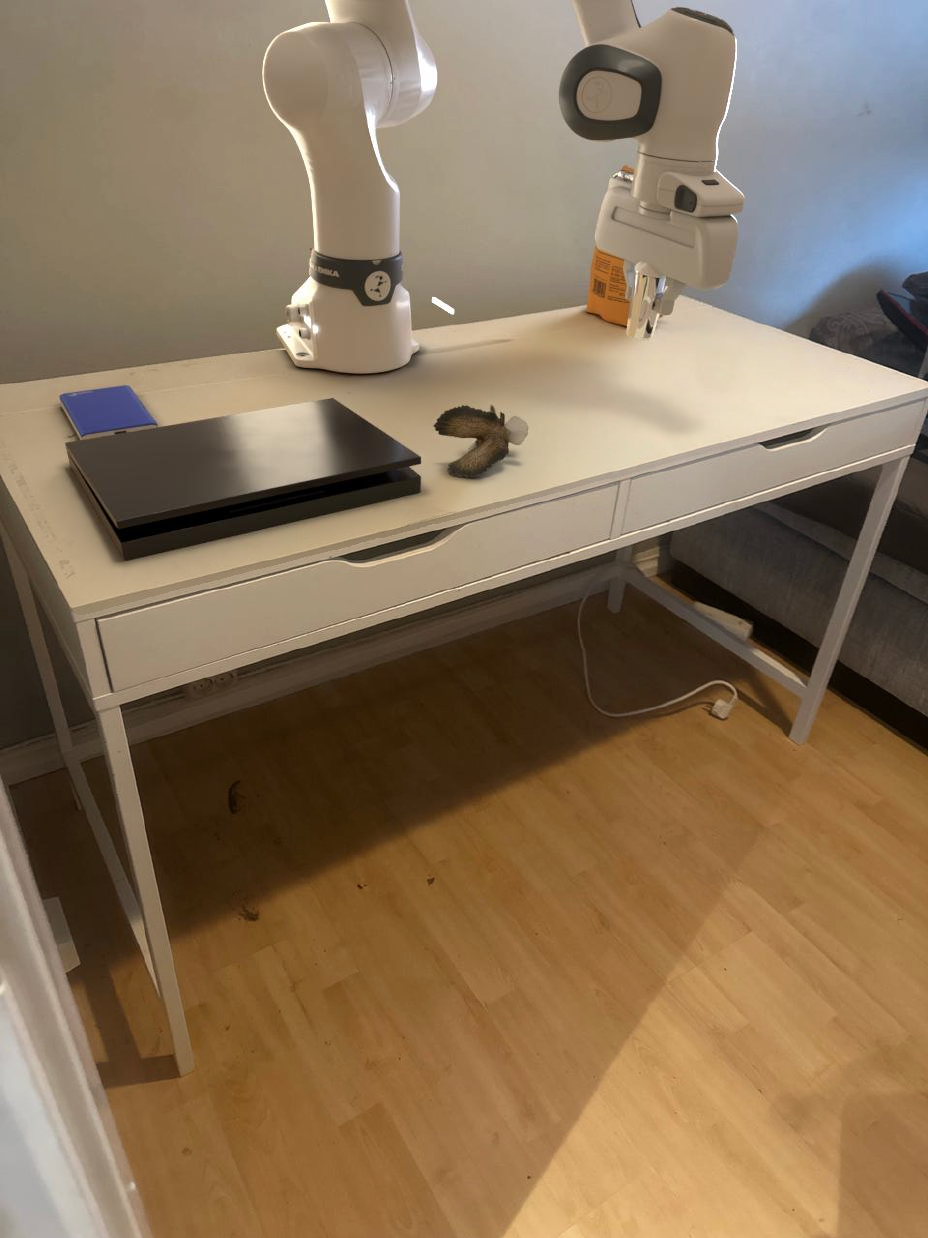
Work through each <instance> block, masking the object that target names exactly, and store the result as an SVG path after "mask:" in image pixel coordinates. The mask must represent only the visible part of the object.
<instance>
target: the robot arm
mask: <svg viewBox="0 0 928 1238" xmlns="http://www.w3.org/2000/svg"><path fill="white" fill-rule="evenodd" d="M324 1H325V5H326V8H327V12H328V16H329V19H330V22H329V21H328V22H327V21H312V22H308V23H305V24H302V25H298V26H296V27H293V28H291V29H289V30H285V31H283V32H280V34H278V35H277V36H275V37H274V38H273V40H272V41H271V42H270V43H269V45H268V46H267V49H266V51H265V54H264V56H263V57H264V58H263V64H262V83H263V91H264V94H265V96H266V100H267V102H268V105H269V107H270V108H271V111H272V112H273V114H274V115H275V116H276V118H277V119H278V120H279V121H280V122H281V123H282V124H283V125H284V126H285V127H286V128H287V130H289V132H290V134H291V135H292V136H293V138H294V140H295V142H296V145H297V147H298V149H299V152H300V153H301V154H300V155H301V157H302V160H303V162H304V166H305V169H306V172H307V176H308V182H309V186H310V194H311V207H312V219H313V220H312V221H313V222H312V223H313V238H314V239H313V240H314V241H313V242H314V247H310V248H309V251H311V254H310V255H309V257H310V258H309V270H308V275H309V278H308V279H307V280H306V281H305V282H304V283H303V284H302V285H301V286H300V287H299V288H298V290H297V291H295V293H294V294H293V295H292V297H291V304H288V305H286V306H285V317H286V320H287V323H286V324H282V325H281V326H278V327H277V328H276V336H277V338H278V340H279V342H280V343H281V344H282V346H283V347H284V350H285V351H286V352H287V354H288V356H289V357H290V359H291V360H292V362H293V363H294V366H296V367H298V368H306V369H321V370H326V371H331V372H335V373H343V374H344V373H345V374H377V373H384V372H390V371H393V370H396V369H399V368H402V367H404V366H405V365H407V364H408V363H409V362H410V361H411V357H412V355H413V354H415V353H417V352H418V351H419V350H420V343H419V341H418V340H415V339H413V331H412V330H413V329H412V314H411V311H412V310H411V298H410V297H411V296H410V293H409V291H408V290H407V289H406V288H405V287H403V285H402V282H403V280H404V268H405V266H404V265H405V264H404V261H403V260H404V259H403V252H402V251H401V249H400V244H401V243H400V242H401V241H400V239H401V238H400V237H401V236H400V235H401V234H400V232H401V231H400V230H401V225H400V224H401V192H400V191H401V190H400V188H399V185H398V183H397V180H396V179H395V178H394V177H393V176H392V175H391V174H390V173H389V172H388V171H387V170H386V168H385V165H384V163H383V160H382V157H381V154H380V149H379V146H378V140H377V129H386V128H391V127H397V126H400V125H403V124H404V123H406V122H409V121H411V120H412V119H414V118H415V117H417V116H418V115H420V114H421V113H423V112H424V111H425V110H426V109H427V108H428V107H429V106H430V104H431V102H432V101H433V98H434V96H435V93H436V88H437V84H438V83H437V82H438V72H437V64H436V61H435V57H434V54H433V51H432V49H431V48H430V46H429V45H428V43H427V42H426V40H425V39H424V38H423V37H422V35H421V33H420V32H419V29H418V27H417V25H416V22H415V18H414V15H413V13H412V10H411V5H410V1H409V0H324ZM570 1H571V3H572V7H573V11H574V13H575V17H576V20H577V24H578V26H579V30H580V33H581V36H582V40H583V44H584V48H583V49H581V50H579V51H578V52H577V53H576V54H575V55H574V56H572V58H571V59H570V60H569V61H568V63H567V64H566V66H565V68H564V71H563V72H562V74H561V78H560V81H559V87H558V104H559V110H560V113H561V116H562V118H563V119H564V122H565V124H566V125H567V126H568V128H569V129H570V130H571V131H572V132H573V133H574V134H575V135H577V136H579V137H581V138H583V139H585V140H588V141H590V142H595V143H609V142H613V141H616V140H625V139H634V140H636V141H637V143H638V144H637V151H636V155H635V162H634V168H633V170H634V173H631V172H630V171H628V170H621V169H619V170H618V172H615V173H614V174H613V176H611V177H610V178H609V181H608V184H607V191H606V193H605V194H604V196H603V199H602V203H601V206H600V210H599V213H598V217H597V222H596V227H595V232H594V242H595V246H597V248H598V249H599V250H601V251H604V252H607V253H609V254H612V255H614V256H617V257H619V258H622V259H624V265H623V271H624V276H625V280H626V285H627V288H626V294H625V298H626V299H627V300H629V301H631V295H632V288H633V279H634V270H635V265H636V264H637V263H639V262H643V263H648V264H649V265H650V266H651V267H652V268H653V269H654V271H655V272H657V273H659V274H662V275H664V276H666V280H665V286H668V288H667V289H666V291H665V292H664V294H663V296H662V297H656V299H655V306H654V311H655V312H656V313H658V314H661V315H663V316H662V317H664V316H670V315H671V314H672V313H673V311H674V306H675V301H676V300H677V299H678V297H680V295H681V294H682V292H683V291H684V290H685V288H686V286H689V287H692V288H695V289H697V290H700V291H709V290H717V289H721V288H722V287H723V286H724V285H725V284H726V283H727V281H728V280H729V278H730V276H731V272H732V268H733V264H734V260H735V256H736V250H737V244H738V238H739V225H738V221H737V219H736V217H735V216H736V215H740V214H741V213H742V211H743V209H744V206H745V199H746V198H745V195H744V193H743V192H742V191H741V190H739V188H737V187H736V186H734V185H733V183H731V182H730V181H729V180H728V179H727V178H726V177H724V175H723V174H722V173H721V172H720V171H719V170H718V169H716V166H717V161H718V156H719V148H718V147H719V146H718V143H719V134H720V131H721V127H722V125H723V123H724V121H725V119H726V116H727V113H728V110H729V106H730V100H731V95H732V90H733V85H734V77H735V72H736V71H735V70H736V63H737V52H738V51H737V50H738V46H737V45H738V43H737V37H736V34H735V32H734V30H733V28H732V27H731V25H730V24H728V23H727V21H726V20H724V19H722V18H719V17H717V16H714V15H711V14H709V13H706V12H702V11H700V10H696V9H691V8H688V7H684V6H676V7H671V8H669V9H668V10H666V11H665V13H663V14H662V15H660V16H659V17H658V18H656V19H654V20H653V21H651V22H649V23H647V24H644V25H643V26H642V24H641V23H640V20H639V18H638V16H637V13H636V9H635V6H634V2H633V0H570ZM431 303H433V304H435V305H437V306H438V307H440V308H442V309H443V310H444V311H446V312H448V313H449V314H451V315H454V314H455V309H454V308H452V307H451V306H449V304H446V303H444V302H443V301H442V300H440V299H438V298H437V297H435V296H434V297H433V296H432V299H431Z"/></svg>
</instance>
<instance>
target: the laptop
mask: <svg viewBox="0 0 928 1238" xmlns="http://www.w3.org/2000/svg"><path fill="white" fill-rule="evenodd" d="M66 453H67V454H66V455H67V457H68V463H69V467H70V469H71V471H72V472H73V474H74V476H75V478H76V479H77V481H78V483H79V484H80V487H81V488H82V490H83V492H84V493H85V495H86V497H87V498H88V500H89V502H90V503H91V505H92V507H93V509H94V511H95V512H96V514H97V516H98V517H99V519H100V521H101V523H102V525H103V526H104V528H105V530H106V531H107V534H108V535H109V537H110V538H111V540H112V542H113V544H114V546H115V547H116V549H117V551H118V552H119V554H120V556H121V558H122V559H123V561H129V560H130V561H131V560H133V559H139V558H142V557H146V556H151V555H155V554H159V553H164V552H167V551H172V550H177V549H181V548H185V547H189V546H194V545H199V544H203V543H207V542H212V541H215V540H220V539H225V538H228V537H233V536H238V535H241V534H246V533H249V532H253V531H259V530H262V529H268V528H272V527H276V526H280V525H284V524H288V523H293V522H297V521H302V520H305V519H310V518H314V517H319V516H324V515H328V514H332V513H336V512H340V511H345V510H349V509H353V508H357V507H358V508H359V507H362V506H366V505H370V504H375V503H379V502H383V501H389V500H392V499H396V498H401V497H405V496H409V495H410V496H411V495H414V494H417V493H421V489H422V475H420V474H418V473H417V472H416V471H415V470H414V469H412V468H411V466H409V467H405V468H400V469H396V470H391V471H386V472H382V473H377V474H372V475H368V476H363V477H358V478H354V479H349V480H344V481H340V482H335V483H331V484H326V485H321V486H317V487H312V488H307V489H303V490H298V491H293V492H289V493H284V494H279V495H275V496H270V497H266V498H261V499H256V500H252V501H247V502H242V503H238V504H233V505H228V506H224V507H219V508H215V509H210V510H205V511H201V512H196V513H191V514H187V515H182V516H177V517H173V518H168V519H163V520H159V521H154V522H150V523H145V524H140V525H136V526H131V527H126V528H122V529H118V528H117V527H116V525H115V524H114V522H113V521H112V519H111V517H110V516H109V514H108V513H107V511H106V510H105V508H104V507H103V505H102V504H101V502H100V501H99V499H98V497H97V496H96V494H95V493H94V491H93V490H92V488H91V487H90V485H89V484H88V482H87V481H86V479H85V477H84V476H83V474H82V473H81V471H80V470H79V468H78V467H77V465H76V464H75V462H74V460H73V459H72V457H71V456H70V454H69V453H68V451H67V450H66Z"/></svg>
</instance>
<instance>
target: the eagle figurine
mask: <svg viewBox="0 0 928 1238" xmlns="http://www.w3.org/2000/svg"><path fill="white" fill-rule="evenodd" d="M505 420H506V415H505V412H502V411H500V412H499V416H498V414H497V413H496V408H495V406H494V405H493V404H491V405H490V406H489V411H486V410H482V409H481V408H475V407H471V406H470V405H467V404H466V405H462V404H461V406H460V405H458V406H457V407H456V406H454V407H453V408H449V409H447V410H444V411H443V413H441V414H440V415H439V417H438V418H436V422H435V423H434V424H433V428H434V431H436V432H437V434H438V435H439V436H444V437H452V438H457V439H476V440H475V441H473V443H472V444H471V445H470V446H469V447H468V448H467V452H466V453H465V454H464V455H462V456H460V457H459V458H458V459H457V458H456V459H455V460H454V461H452V462H450V463H448V464H447V471H448V472H447V473H448V475H451V476H453V477H456V476H457V477H459V478H461V477H465V478H469V477H471V478H474V477H477V476H480V475H483V474H484V473H486V472H487V471H488V469H490V468H492V467H493V465H495V464H497V463H498V462H501V461H504V459H505V458H506V457H507V455H509V453H510V449H509V445H510V444H512V445H515V446H520V445H522V444H523V443H524V442H525V440H526V438H527V436H528V435H529V428H530V427H529V425H528V423H527V421H526V420H524V419H523V418H522V417H520V416H517V415H513V416H511V417H510V418H509V420H508V421H507V422H506V421H505ZM509 443H510V444H509Z"/></svg>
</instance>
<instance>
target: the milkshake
mask: <svg viewBox="0 0 928 1238" xmlns="http://www.w3.org/2000/svg"><path fill="white" fill-rule="evenodd" d="M665 280H666V276H664V275H662V274H659V273H657V272H655V271H654V269H653V268H652V267H651V266H650V265H649V264H648V263H643V262H639V263H637V264H636V265H635V270H634V279H633V288H632V295H631V302H630V309H629V316H628V323H627V326H626V331H625V333H626V335H627V336H628V337H629V338H632V339H634V340H638V341H650V340H652V338H653V337H654V333H655V330H656V328H657V324H658V321H659V319H660V318H659V315H660V314H658V313H656V312H655V311H654V306H655V299H656V297H662V296H663V294H664V292H665V291H666V289H667V288H668V286H665ZM658 318H659V319H658Z"/></svg>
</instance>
